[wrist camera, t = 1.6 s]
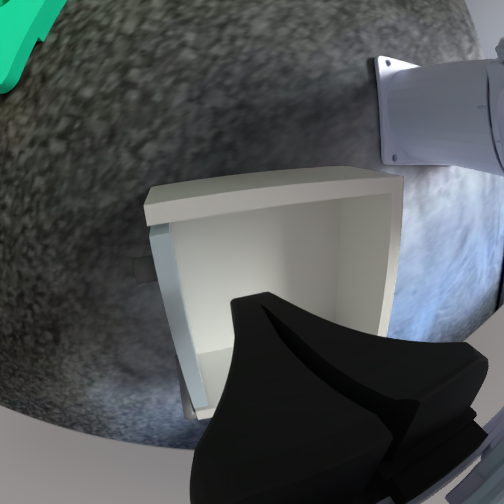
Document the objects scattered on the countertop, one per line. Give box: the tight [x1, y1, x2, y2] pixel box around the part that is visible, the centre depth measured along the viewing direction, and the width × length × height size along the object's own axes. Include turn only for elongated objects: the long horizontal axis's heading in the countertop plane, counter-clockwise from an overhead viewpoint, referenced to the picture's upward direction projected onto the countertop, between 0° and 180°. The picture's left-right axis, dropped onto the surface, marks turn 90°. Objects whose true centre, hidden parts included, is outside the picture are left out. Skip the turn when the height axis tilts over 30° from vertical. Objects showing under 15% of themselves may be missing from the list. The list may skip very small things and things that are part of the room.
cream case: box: [144, 166, 404, 420], centre depth 16 cm, size 13×12×6 cm
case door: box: [133, 222, 209, 409], centre depth 15 cm, size 2×10×5 cm, turn 5°
